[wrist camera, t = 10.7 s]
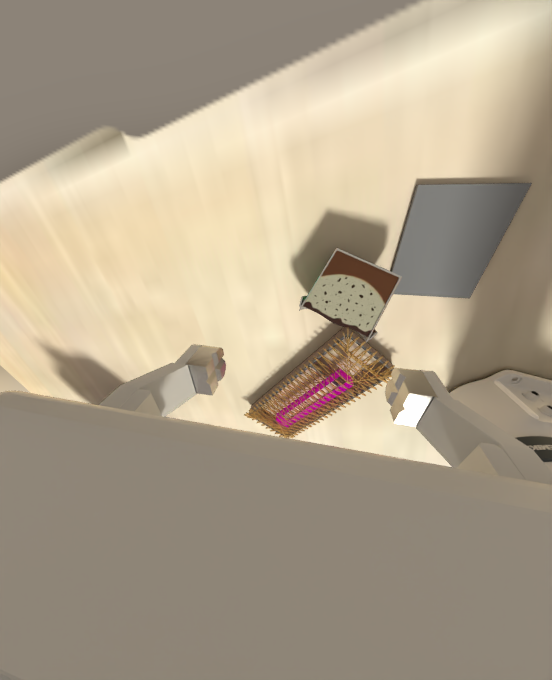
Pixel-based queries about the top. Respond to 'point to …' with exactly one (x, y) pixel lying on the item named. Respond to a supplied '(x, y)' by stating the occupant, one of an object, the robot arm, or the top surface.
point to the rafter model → (329, 401)
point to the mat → (453, 236)
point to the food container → (352, 293)
